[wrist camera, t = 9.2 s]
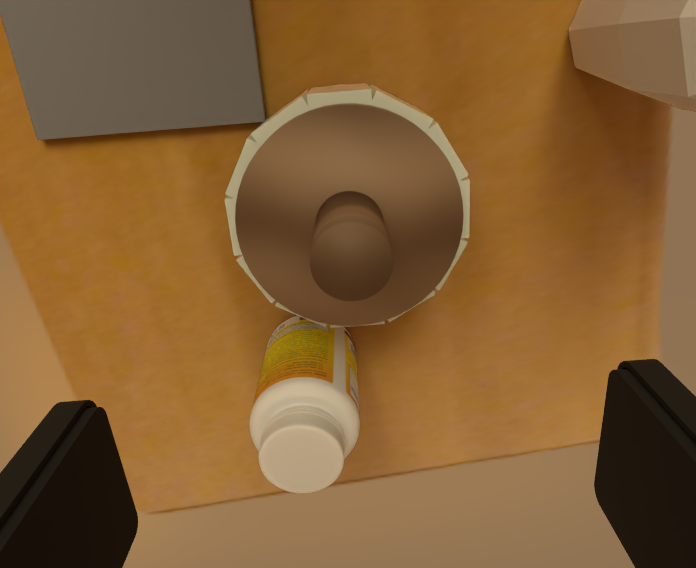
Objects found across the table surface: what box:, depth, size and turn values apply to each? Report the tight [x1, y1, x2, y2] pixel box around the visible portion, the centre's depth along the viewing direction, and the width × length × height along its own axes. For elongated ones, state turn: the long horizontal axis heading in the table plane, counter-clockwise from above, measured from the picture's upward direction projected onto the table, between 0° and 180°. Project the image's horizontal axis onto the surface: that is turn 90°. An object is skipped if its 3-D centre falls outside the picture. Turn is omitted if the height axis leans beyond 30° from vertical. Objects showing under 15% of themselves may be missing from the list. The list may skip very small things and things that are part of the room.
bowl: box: [224, 83, 470, 328], centre depth 28 cm, size 11×11×6 cm
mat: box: [0, 0, 266, 140], centre depth 26 cm, size 12×12×1 cm
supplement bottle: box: [249, 316, 360, 493], centre depth 30 cm, size 6×6×10 cm
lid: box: [235, 103, 464, 326], centre depth 22 cm, size 10×10×6 cm
